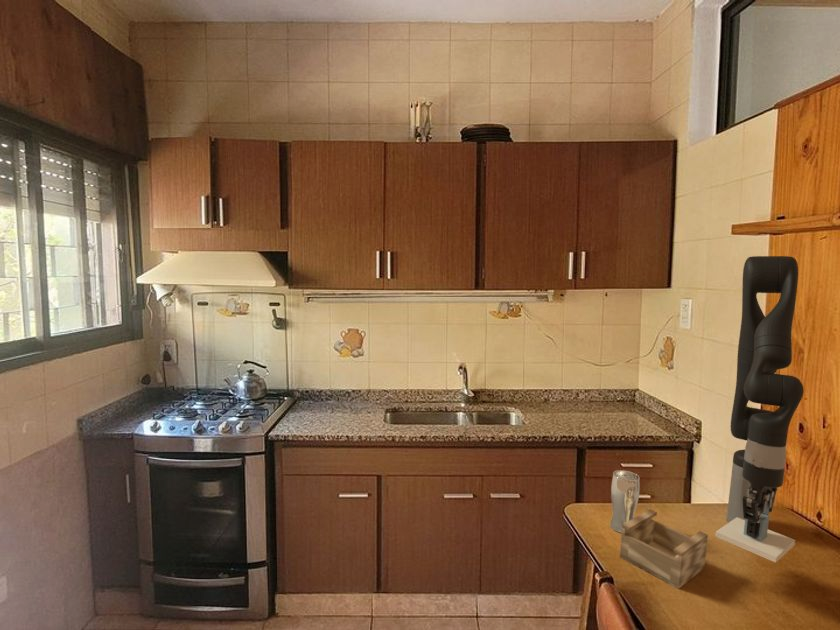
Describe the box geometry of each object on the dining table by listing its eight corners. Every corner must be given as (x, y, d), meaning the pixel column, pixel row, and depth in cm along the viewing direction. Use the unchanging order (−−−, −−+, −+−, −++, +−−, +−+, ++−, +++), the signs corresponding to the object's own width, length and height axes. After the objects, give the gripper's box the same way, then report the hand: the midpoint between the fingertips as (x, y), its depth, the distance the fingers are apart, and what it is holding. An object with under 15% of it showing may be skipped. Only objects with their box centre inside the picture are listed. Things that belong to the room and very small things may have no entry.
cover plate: (736, 521, 119) (739, 497, 118) (794, 545, 110) (797, 518, 109) (715, 536, 112) (718, 510, 111) (775, 562, 102) (779, 534, 102)
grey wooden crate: (647, 539, 126) (649, 509, 125) (704, 567, 115) (707, 534, 114) (619, 557, 118) (622, 524, 117) (678, 588, 107) (681, 553, 106)
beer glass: (640, 528, 131) (644, 475, 130) (629, 538, 127) (634, 483, 125) (614, 518, 136) (619, 467, 135) (603, 527, 132) (607, 474, 130)
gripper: (756, 449, 116) (748, 517, 118) (732, 461, 107) (724, 535, 109) (794, 460, 110) (785, 532, 112) (772, 474, 101) (763, 551, 103)
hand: (755, 533), depth 110 cm, fingers closed on cover plate, 3 cm apart
